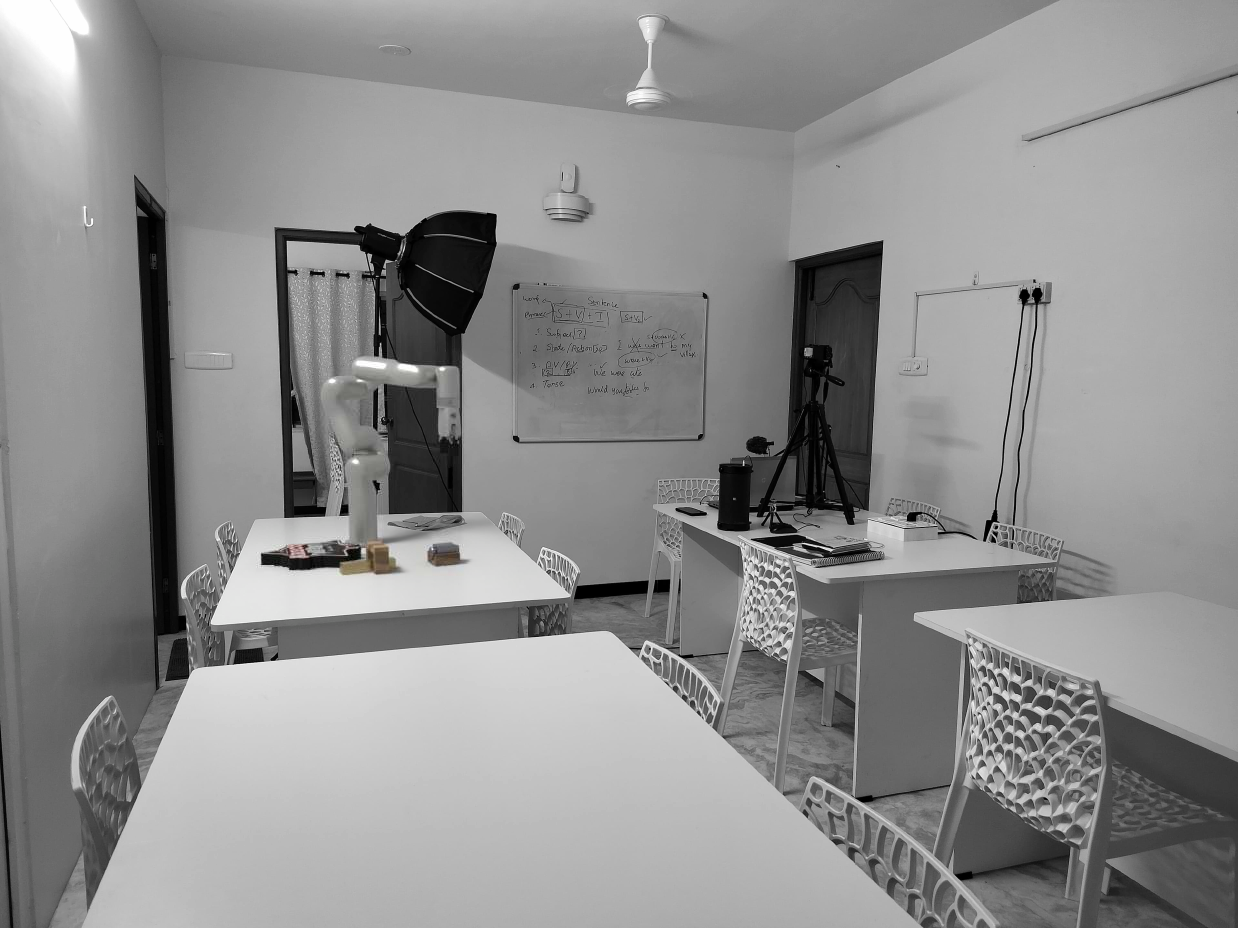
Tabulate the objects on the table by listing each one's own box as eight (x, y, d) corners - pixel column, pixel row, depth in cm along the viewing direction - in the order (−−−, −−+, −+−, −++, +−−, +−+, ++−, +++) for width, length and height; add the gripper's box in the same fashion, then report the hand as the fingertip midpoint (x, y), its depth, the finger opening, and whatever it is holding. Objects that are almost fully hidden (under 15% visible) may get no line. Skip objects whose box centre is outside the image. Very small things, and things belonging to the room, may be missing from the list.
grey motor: (432, 560, 256) (432, 546, 255) (428, 557, 259) (428, 544, 259) (460, 557, 260) (460, 544, 260) (455, 554, 264) (455, 541, 264)
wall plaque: (366, 554, 253) (261, 562, 241) (367, 567, 254) (262, 576, 241) (355, 538, 279) (259, 545, 266) (355, 550, 279) (260, 557, 266)
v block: (427, 561, 261) (427, 550, 261) (451, 558, 265) (451, 548, 265) (435, 566, 254) (435, 555, 254) (460, 563, 258) (460, 552, 258)
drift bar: (342, 575, 242) (342, 564, 242) (339, 573, 245) (339, 562, 245) (395, 569, 250) (395, 558, 250) (393, 567, 253) (392, 556, 253)
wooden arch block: (366, 566, 253) (365, 541, 252) (379, 565, 255) (378, 540, 254) (375, 574, 243) (375, 548, 242) (389, 572, 245) (388, 546, 244)
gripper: (468, 404, 265) (468, 456, 267) (450, 402, 280) (450, 452, 281) (446, 404, 261) (446, 457, 263) (429, 402, 276) (429, 453, 277)
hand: (448, 454), depth 272 cm, fingers open, 9 cm apart
